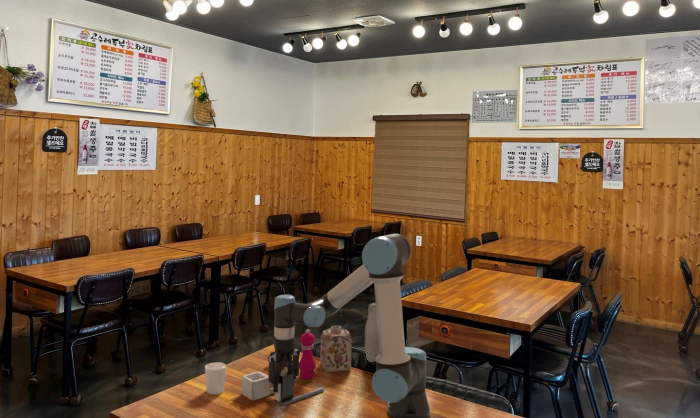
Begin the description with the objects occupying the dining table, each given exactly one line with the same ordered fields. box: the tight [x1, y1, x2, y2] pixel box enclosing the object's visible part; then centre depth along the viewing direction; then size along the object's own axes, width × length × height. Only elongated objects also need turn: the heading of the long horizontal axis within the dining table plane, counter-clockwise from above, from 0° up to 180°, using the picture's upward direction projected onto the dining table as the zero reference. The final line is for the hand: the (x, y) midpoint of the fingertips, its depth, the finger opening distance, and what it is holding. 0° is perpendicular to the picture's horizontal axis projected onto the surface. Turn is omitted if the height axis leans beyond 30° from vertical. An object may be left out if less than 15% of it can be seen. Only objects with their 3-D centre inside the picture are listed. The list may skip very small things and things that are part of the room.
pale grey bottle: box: [364, 302, 380, 362], centre depth 232 cm, size 10×10×28 cm
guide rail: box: [279, 387, 325, 408], centre depth 197 cm, size 1×20×1 cm, turn 134°
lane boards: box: [269, 388, 275, 396], centre depth 207 cm, size 8×12×2 cm
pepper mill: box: [299, 329, 317, 380], centre depth 218 cm, size 7×7×20 cm
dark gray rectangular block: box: [261, 369, 295, 403], centre depth 199 cm, size 16×5×10 cm, turn 44°
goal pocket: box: [240, 370, 271, 402], centre depth 200 cm, size 8×8×7 cm
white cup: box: [204, 361, 227, 395], centre depth 202 cm, size 8×8×10 cm
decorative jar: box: [319, 325, 352, 373], centre depth 229 cm, size 12×12×18 cm
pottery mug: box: [268, 351, 293, 369], centre depth 229 cm, size 12×10×8 cm
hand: (283, 397), depth 196 cm, fingers closed on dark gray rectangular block, 5 cm apart
